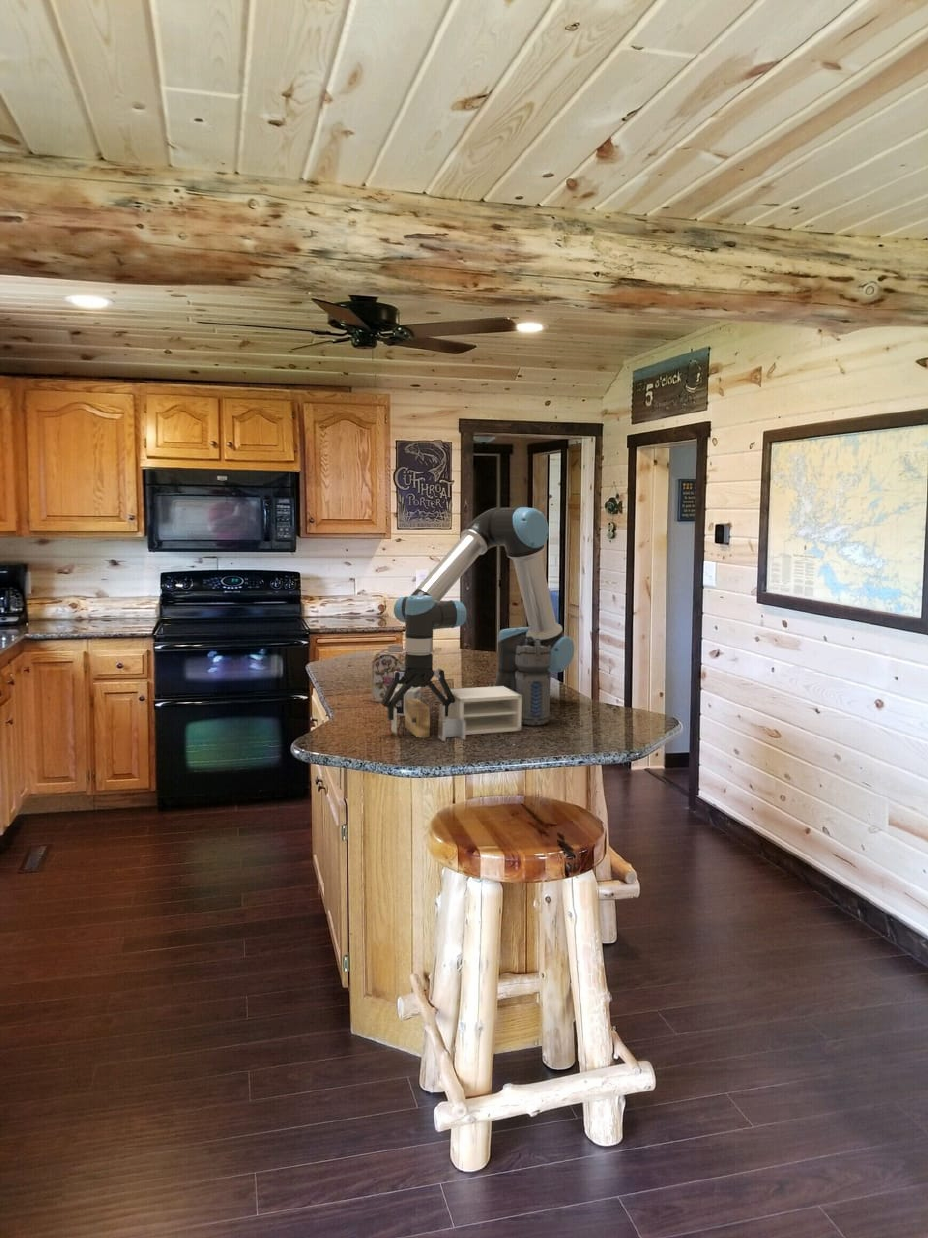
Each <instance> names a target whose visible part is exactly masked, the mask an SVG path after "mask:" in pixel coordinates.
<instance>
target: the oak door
mask: <svg viewBox="0 0 928 1238" xmlns="http://www.w3.org/2000/svg"><path fill="white" fill-rule="evenodd" d="M430 709H431V707H429V706H428V705H426V704H425V703H424V702H423V701H422V700H421V701H420V700H418V699H406V700H405V716H404V724H405V725H404V728H405V729H407V731H409V732H410V733H411V734H412V735H413V736H415V737H416V738H417V737H419V738H429V737H431V736H430V734H431V730H430V728H431V723H430V722H431V719H430V718H431V717H430V715H431V713H430V711H431V710H430Z"/></svg>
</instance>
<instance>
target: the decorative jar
mask: <svg viewBox="0 0 928 1238" xmlns="http://www.w3.org/2000/svg"><path fill="white" fill-rule="evenodd" d="M403 647H404V646H403V644H395V643H391V644H388V645H387V648H385V649H381V650H377V652H376V653H375V655H374V657H373V658H372V660H371V702H374V703H381V701H382V699H383V697H384V695H385V693H386V691H387V689H388V687H389V685H390V683H391V681H392V679H393V672H394V671H398V670H405V654H406V653H407V652H406V651H405V648H404V649H403ZM389 702H390V701H389Z"/></svg>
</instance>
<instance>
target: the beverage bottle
mask: <svg viewBox="0 0 928 1238" xmlns="http://www.w3.org/2000/svg"><path fill="white" fill-rule="evenodd" d="M534 644H535V645H534ZM515 661H516V665H517V667H518V669H519V670H517V671H516V672H515V692H516V693H518V694H520V695H522V715H521V725H524V726H532V727H533V726H542V725H545V724H547V723H548V722H549V721H550V715H551V713H550V712H551V677H552V675H551V674H552V672H549V671H548V669H549V667H550V666H551V646H550V645H549V646H548V647H545V646H541V645H540V639H535V640H534V638H533V637H531V636H529V637H526V639H525V646H519V645H518V646H517V649H516V656H515Z"/></svg>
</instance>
